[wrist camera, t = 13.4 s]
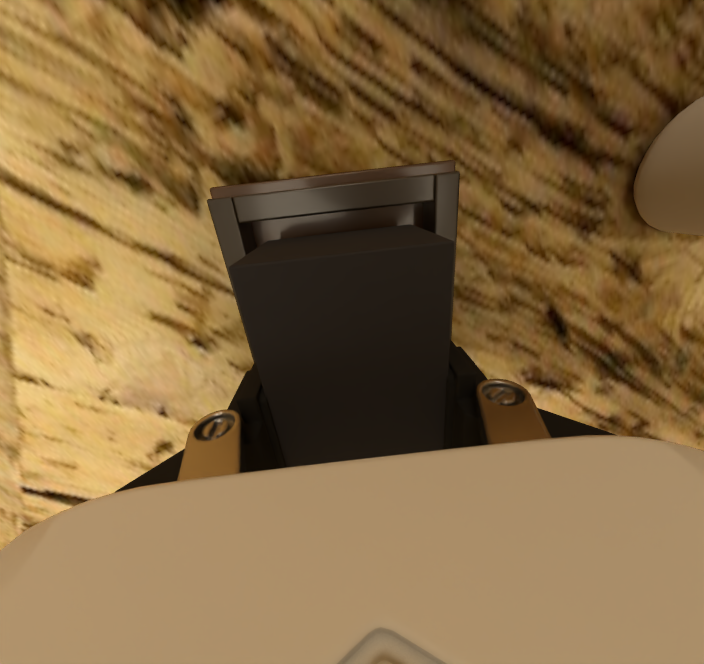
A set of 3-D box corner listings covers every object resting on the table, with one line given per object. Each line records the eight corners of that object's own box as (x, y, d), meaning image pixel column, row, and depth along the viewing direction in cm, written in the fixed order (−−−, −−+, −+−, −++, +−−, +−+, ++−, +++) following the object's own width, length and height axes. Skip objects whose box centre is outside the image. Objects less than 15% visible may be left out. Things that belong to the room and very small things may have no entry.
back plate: (218, 188, 11) (188, 186, 9) (446, 162, 11) (475, 153, 9) (288, 446, 17) (281, 484, 15) (437, 428, 17) (453, 464, 15)
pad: (266, 240, 10) (226, 266, 6) (411, 223, 10) (456, 240, 6) (313, 450, 14) (305, 538, 11) (414, 439, 14) (441, 522, 11)
